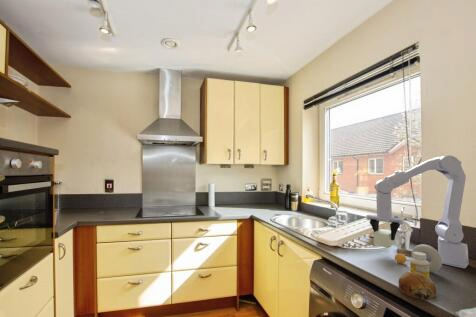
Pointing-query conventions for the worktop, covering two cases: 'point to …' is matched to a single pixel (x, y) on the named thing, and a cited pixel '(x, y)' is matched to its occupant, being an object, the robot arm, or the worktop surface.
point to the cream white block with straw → (403, 234)
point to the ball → (400, 258)
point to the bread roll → (417, 286)
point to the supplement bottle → (419, 263)
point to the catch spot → (408, 258)
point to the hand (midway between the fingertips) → (384, 238)
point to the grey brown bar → (405, 252)
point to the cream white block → (383, 238)
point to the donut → (434, 255)
